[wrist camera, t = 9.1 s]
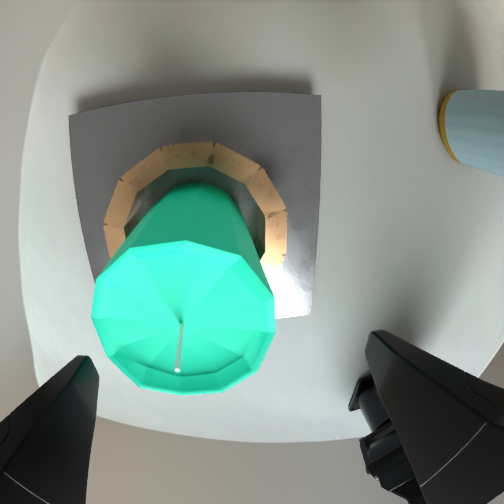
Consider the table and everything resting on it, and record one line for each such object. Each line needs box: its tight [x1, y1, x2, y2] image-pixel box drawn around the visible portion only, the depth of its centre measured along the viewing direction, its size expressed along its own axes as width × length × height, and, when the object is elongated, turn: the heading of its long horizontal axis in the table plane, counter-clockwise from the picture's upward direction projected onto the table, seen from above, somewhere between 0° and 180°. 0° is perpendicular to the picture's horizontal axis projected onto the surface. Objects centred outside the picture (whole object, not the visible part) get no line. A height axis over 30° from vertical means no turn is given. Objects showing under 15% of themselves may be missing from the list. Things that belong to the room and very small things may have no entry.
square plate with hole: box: [69, 92, 321, 319], centre depth 17 cm, size 16×16×4 cm
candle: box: [91, 181, 275, 395], centre depth 12 cm, size 6×6×12 cm
